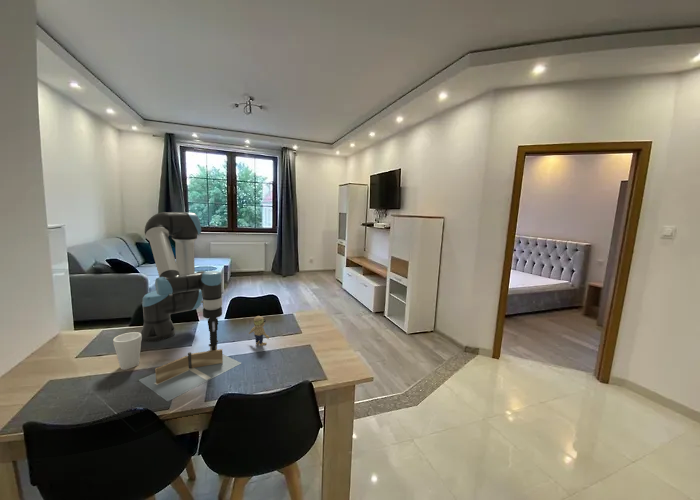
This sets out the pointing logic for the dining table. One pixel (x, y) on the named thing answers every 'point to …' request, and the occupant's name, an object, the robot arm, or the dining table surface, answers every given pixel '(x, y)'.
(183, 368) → the fixed panel
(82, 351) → the dining table surface
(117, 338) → the foam cup
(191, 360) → the hinged panel
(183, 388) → the card
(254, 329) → the toy
